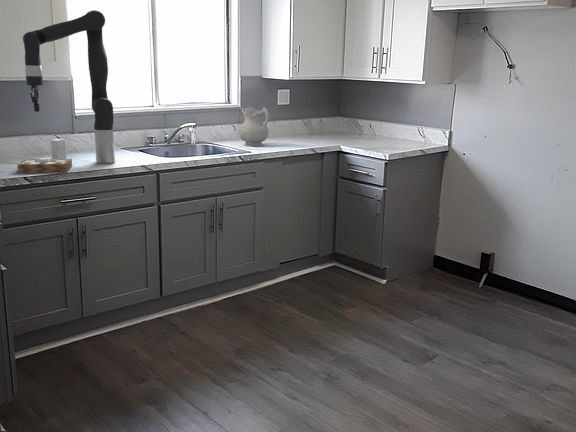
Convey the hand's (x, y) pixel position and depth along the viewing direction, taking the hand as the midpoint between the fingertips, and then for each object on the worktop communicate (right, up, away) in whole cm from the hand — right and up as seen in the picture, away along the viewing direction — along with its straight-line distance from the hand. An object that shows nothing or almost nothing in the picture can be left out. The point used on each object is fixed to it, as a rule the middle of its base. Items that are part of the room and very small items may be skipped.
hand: (37, 111), depth 298 cm
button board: (+5, -29, -3) cm, 29 cm away
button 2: (+12, -26, -2) cm, 29 cm away
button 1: (-1, -27, -5) cm, 27 cm away
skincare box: (+5, -24, +17) cm, 29 cm away
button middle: (+6, -25, -4) cm, 26 cm away
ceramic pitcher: (+102, -6, +92) cm, 138 cm away
